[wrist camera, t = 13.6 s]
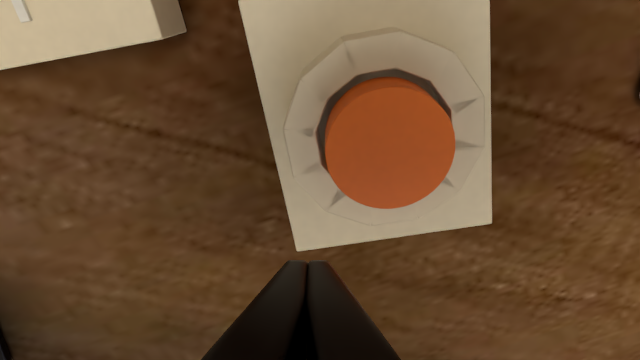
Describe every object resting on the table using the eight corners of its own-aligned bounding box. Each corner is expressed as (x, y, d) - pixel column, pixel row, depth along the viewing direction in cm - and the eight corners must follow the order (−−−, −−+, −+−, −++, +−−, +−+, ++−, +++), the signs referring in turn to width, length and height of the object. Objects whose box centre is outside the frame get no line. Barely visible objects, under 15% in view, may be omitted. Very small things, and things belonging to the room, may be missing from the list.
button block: (476, 201, 21) (508, 246, 17) (299, 227, 22) (294, 276, 18) (469, -44, 17) (510, -54, 13) (247, -1, 17) (227, 1, 14)
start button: (445, 179, 17) (458, 199, 15) (334, 196, 17) (336, 217, 15) (439, 66, 15) (453, 75, 13) (315, 87, 15) (314, 99, 14)
